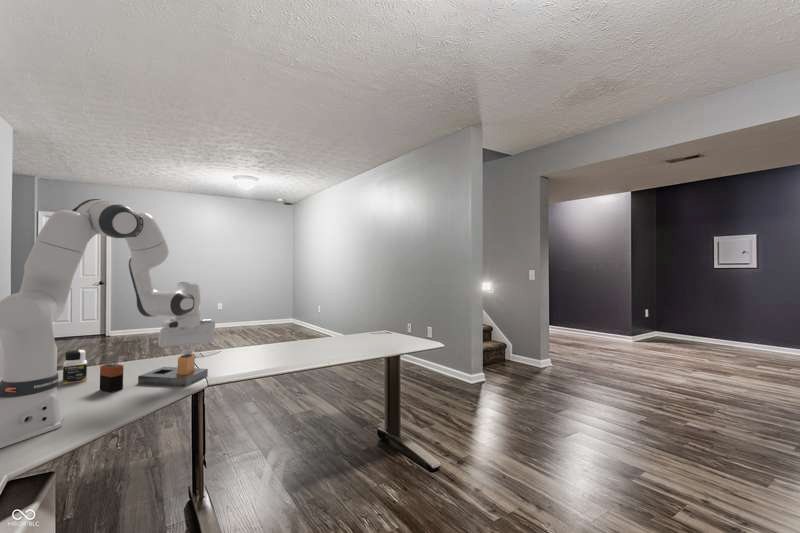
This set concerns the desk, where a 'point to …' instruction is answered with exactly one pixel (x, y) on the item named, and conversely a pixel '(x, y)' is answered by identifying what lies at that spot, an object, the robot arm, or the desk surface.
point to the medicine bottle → (74, 367)
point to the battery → (111, 377)
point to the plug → (186, 364)
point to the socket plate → (171, 376)
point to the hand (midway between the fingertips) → (187, 354)
